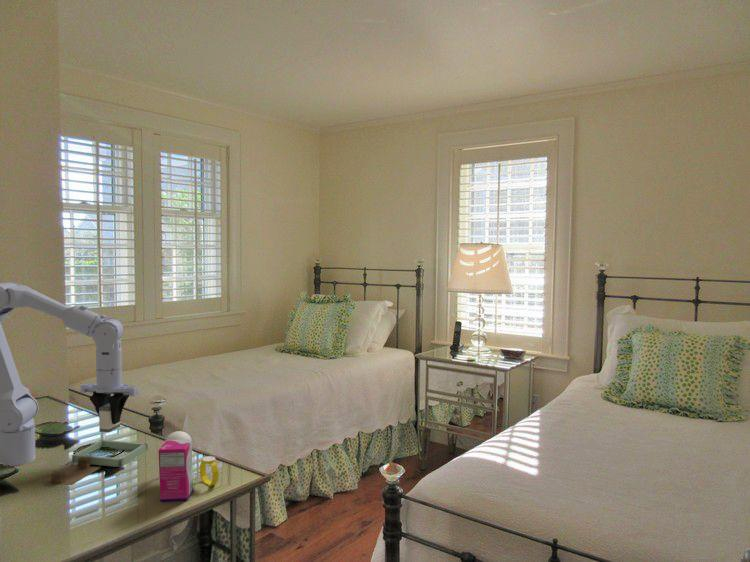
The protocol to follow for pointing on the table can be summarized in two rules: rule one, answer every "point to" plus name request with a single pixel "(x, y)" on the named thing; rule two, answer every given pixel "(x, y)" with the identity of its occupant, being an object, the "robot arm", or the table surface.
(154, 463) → the table surface
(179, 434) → the lightbulb
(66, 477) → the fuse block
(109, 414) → the block
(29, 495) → the table surface
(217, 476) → the watch
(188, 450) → the supplement box
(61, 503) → the table surface
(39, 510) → the table surface
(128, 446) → the parts tray
